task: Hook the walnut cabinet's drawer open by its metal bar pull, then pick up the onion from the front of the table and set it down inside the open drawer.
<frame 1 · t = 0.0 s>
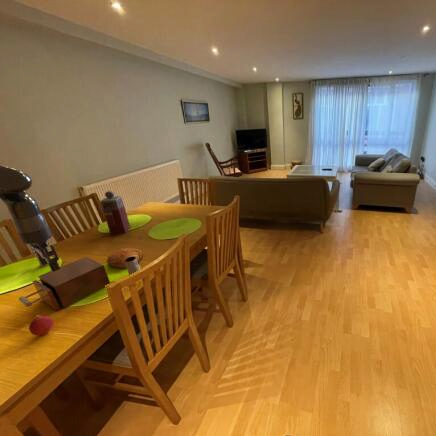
hand: (51, 267, 88), 19 cm above the table, tool pointing down, fingers open, 8 cm apart
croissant: (127, 262, 126), on the table
planter: (136, 278, 113), on the table
onion: (46, 333, 84), on the table
cabinet: (80, 290, 104), on the table
drawer: (59, 288, 98), point 5 cm above the table, slide at 1.0 cm
sprinkles bottle: (46, 265, 124), on the table
maroon canister: (120, 232, 159), on the table
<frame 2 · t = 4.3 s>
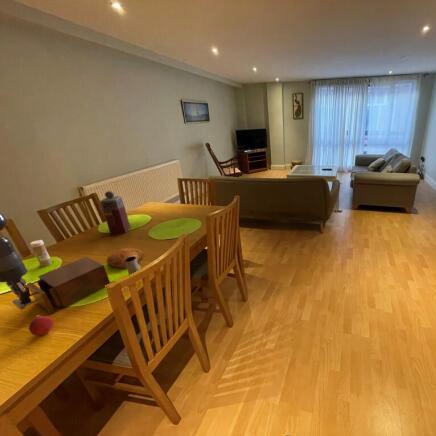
hand: (27, 304, 90), 5 cm above the table, tool pointing down, fingers closed
drawer: (54, 290, 96), point 5 cm above the table, slide at 2.7 cm, touching gripper
everything else where it was.
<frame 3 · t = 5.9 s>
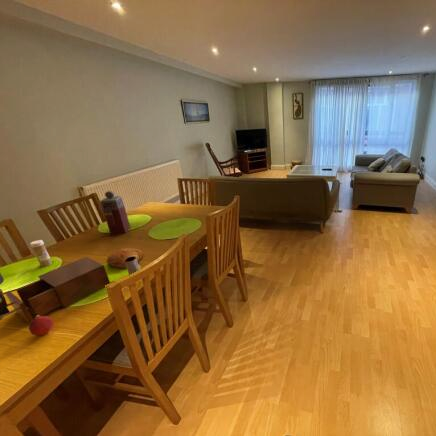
hand: (5, 314, 85), 5 cm above the table, tool pointing down, fingers closed
drawer: (35, 299, 92), point 5 cm above the table, slide at 8.5 cm
everything else where it was.
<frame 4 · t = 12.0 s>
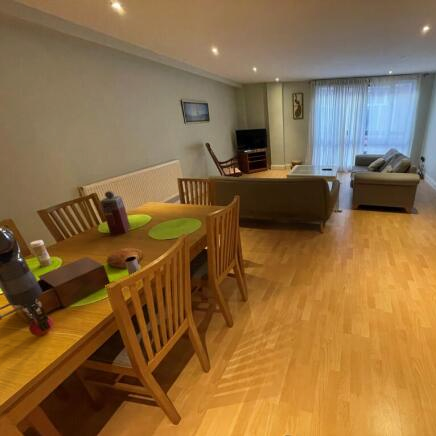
hand: (42, 325, 82), 4 cm above the table, tool pointing down, fingers closed on onion, 5 cm apart
onion: (46, 333, 84), on the table, touching gripper
everything else where it was.
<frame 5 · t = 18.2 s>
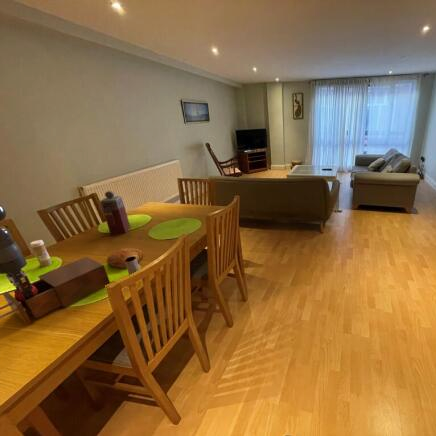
hand: (27, 295, 89), 8 cm above the table, tool pointing down, fingers closed on onion, 5 cm apart
onion: (25, 304, 89), point 6 cm above the table, touching gripper
drawer: (32, 300, 91), point 5 cm above the table, slide at 9.2 cm
everything else where it was.
when the fingers open (8 cm above the table, at t = 18.5 s): onion drops 2 cm, resting on drawer.
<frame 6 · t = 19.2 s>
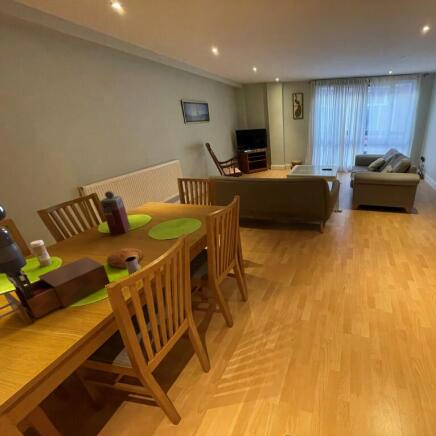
hand: (26, 294, 89), 9 cm above the table, tool pointing down, fingers open, 8 cm apart
onion: (28, 306, 91), point 4 cm above the table, touching drawer
drawer: (33, 300, 91), point 5 cm above the table, slide at 9.0 cm, touching onion
everything else where it was.
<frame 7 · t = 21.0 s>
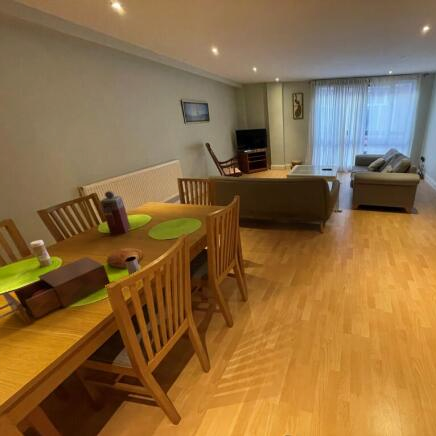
onion: (29, 303, 91), point 5 cm above the table, touching drawer
everything else where it was.
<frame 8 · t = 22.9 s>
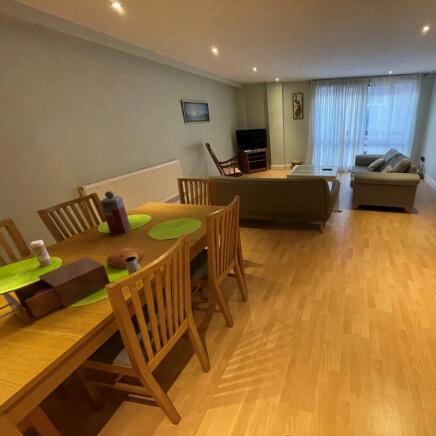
nothing on the table moved.
at the end: drawer slide at 9.2 cm; onion inside the target area in the drawer (0.9 cm from its centre), point 5.0 cm above the cabinet's base; the gripper is holding nothing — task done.
